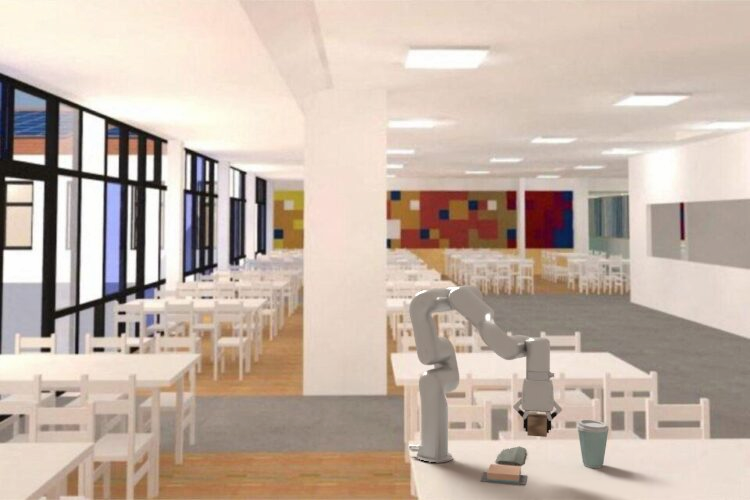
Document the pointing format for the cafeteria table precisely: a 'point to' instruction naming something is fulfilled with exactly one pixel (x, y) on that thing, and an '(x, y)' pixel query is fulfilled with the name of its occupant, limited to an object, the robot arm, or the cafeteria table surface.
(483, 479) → the mat
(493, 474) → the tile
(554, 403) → the robot arm
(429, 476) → the cafeteria table surface
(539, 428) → the walnut block
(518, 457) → the stone slab
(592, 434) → the disposable coffee cup
